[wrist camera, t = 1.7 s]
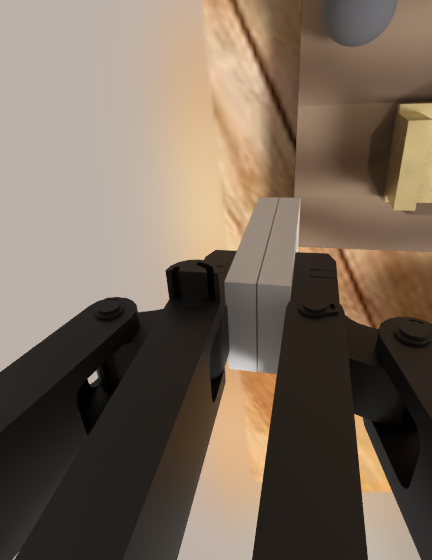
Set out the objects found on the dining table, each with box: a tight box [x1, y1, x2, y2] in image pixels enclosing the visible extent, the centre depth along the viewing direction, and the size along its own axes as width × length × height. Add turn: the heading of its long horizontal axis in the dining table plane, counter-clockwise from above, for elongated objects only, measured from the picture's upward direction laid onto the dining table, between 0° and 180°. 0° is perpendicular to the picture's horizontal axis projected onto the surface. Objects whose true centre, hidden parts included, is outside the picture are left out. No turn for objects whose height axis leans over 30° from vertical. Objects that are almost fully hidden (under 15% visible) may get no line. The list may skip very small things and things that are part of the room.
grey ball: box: [321, 0, 398, 47], centre depth 21 cm, size 4×4×4 cm
